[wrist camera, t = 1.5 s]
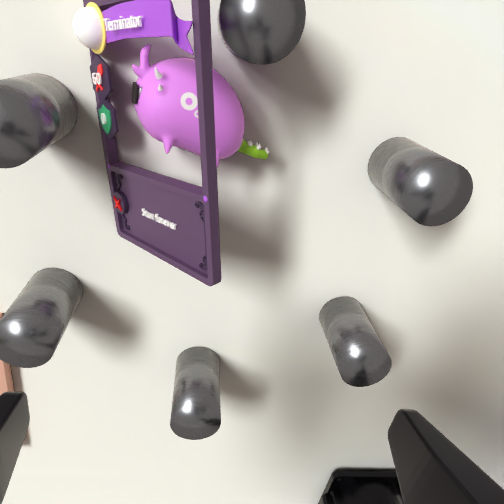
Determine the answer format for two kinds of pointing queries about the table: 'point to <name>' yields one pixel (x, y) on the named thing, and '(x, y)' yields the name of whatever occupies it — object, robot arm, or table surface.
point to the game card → (167, 130)
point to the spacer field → (200, 358)
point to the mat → (5, 375)
